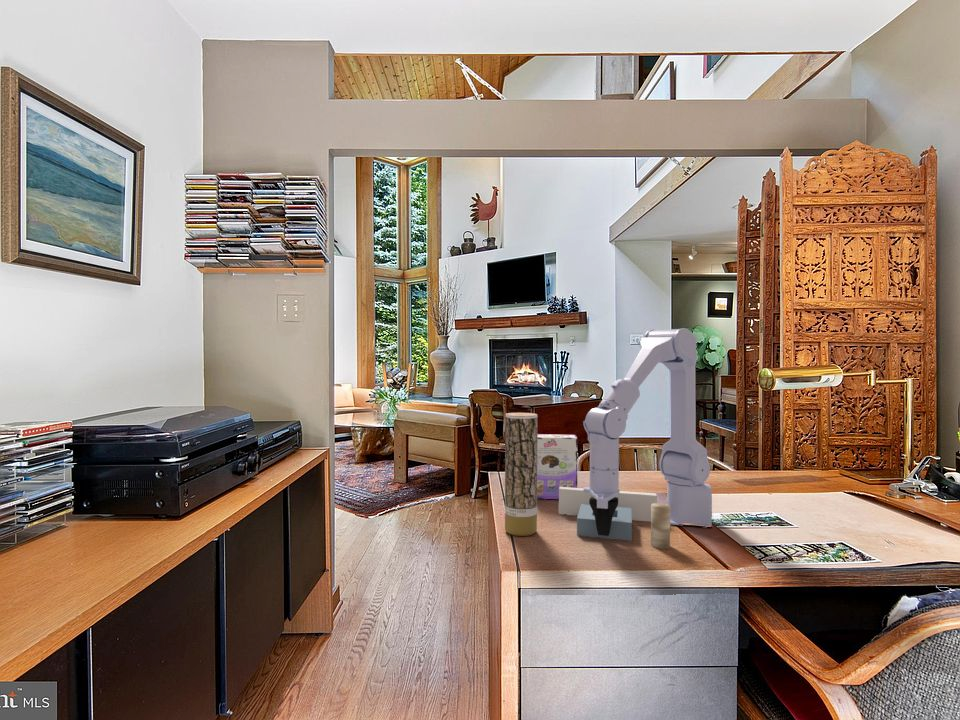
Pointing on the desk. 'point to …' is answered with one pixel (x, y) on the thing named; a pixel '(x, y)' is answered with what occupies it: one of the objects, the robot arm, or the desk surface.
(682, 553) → the desk surface
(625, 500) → the wall
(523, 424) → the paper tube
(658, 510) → the dowel
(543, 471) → the candy box
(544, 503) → the desk surface
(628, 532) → the socket block
